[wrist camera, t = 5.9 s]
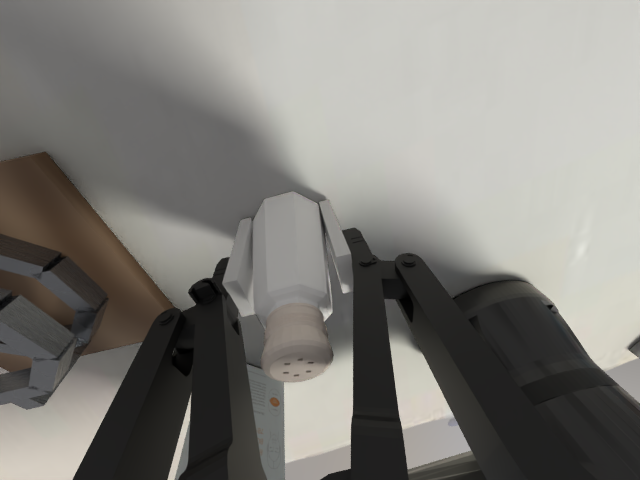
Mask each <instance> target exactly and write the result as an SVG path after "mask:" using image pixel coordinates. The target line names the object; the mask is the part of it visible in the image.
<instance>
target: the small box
mask: <svg viewBox="0 0 640 480" xmlns="http://www.w3.org/2000/svg"><path fill="white" fill-rule="evenodd" d="M247 371H248V377H249V384H250V391H251V398H252V404H253V411H254V418H255V424H256V431H257V438H258V444H259V451H260V458H261V463H262V467H263V470H264V472H265V474H266V477H267V480H285V448H284V382H282V381H277V380H274V379H272V378H270V377H269V376H267V375H266V374H265V372H264V371H263V370H262V369H260V368H257V367H254V366H251V365H249V364H247ZM189 432H190V422H189V426H188V430H187V433H186V437H185V441H184V445H183V449H182V453H181V457H180V461H179V465H178V469H177V472H176V476H175V480H178V479H179V477H180V475H181V474H182V473H183V472H184V471H185V470H186V467H187V464H188V451H189Z"/></svg>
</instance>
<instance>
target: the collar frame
mask: <svg viewBox="0 0 640 480" xmlns="http://www.w3.org/2000/svg"><path fill="white" fill-rule="evenodd" d="M61 253H62V252H59V251H56V250H52V249H49V248H46V247H43V246H39V245H36V244H33V243H29V242H26V241H23V240H20V239H16V238H13V237H10V236H7V235H3V234H0V269H1V270H5V271H9V272H13V273H16V274H20V275H24V276H28V277H32V278H35V279H36V280H38V281H39V282H40V283H41V284H42V285H44V286H45V287H46V288H47V289H49V290H50V291H51V292H52V293H54V294H55V295H56V296H57V297H58V298H60V299H61V300H62V301H63V302H65V303H66V304H67V305H68V306H69V307H71V308H72V309H73V310H74V311H76V312H75V316H74V320H73V324H69V325H65V326H62V325H61V324H60V323H58V322H57V321H56V320H54V319H53V318H52V317H50V316H49V315H48V314H46V313H45V312H43V311H42V310H41V309H39V308H38V307H37V306H35V305H34V304H33V303H31V302H30V301H29V300H27V299H26V298H25V297H23V296H22V295H17V296H12V291H11V290H6V289H2V288H0V352H1V353H7V354H14V355H20V356H27V357H29V358H31V359H33V361H32V367H31V368H27V369H23V370H18V371H14V372H10V373H5V374H1V375H0V405H3V404H7V403H13V404H15V405H18V406H20V407H22V408H24V409H32V408H36V407H40V406H44V405H45V403H46V402H47V401H48V399H49V398H50V397H51V395H52V394H53V393H54V391H55V390H56V388H57V387H58V386H59V384H60V383H61V382H62V380H63V379H64V377H65V376H66V375H67V373H68V372H69V371H70V369H71V368H72V367H73V365H74V364H75V362H76V361H77V360H78V358H79V357H80V356H81V354H82V353H83V351H84V350H85V349H86V347H87V346H88V345H89V343H90V342H91V338H92V337H93V335H94V334H95V333H96V331H97V330H98V329H99V327H100V324H101V321H102V318H103V315H104V312H105V309H106V306H107V303H108V301H109V298H107V295H108V294H107V293H106V292H105V291H104V290H103V289H102V288H101V287H100V286H99V285H98V284H96V283H95V282H94V281H93V280H92V279H91V278H90V277H89V276H88V275H87V274H86V273H85V272H84V271H83V270H82V269H81V268H80V267H79V266H78V265H77V264H76V263H75V262H74V261H73V260H72V259H71V258H70V257H69V256H65V257H61Z"/></svg>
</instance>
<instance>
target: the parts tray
mask: <svg viewBox="0 0 640 480" xmlns="http://www.w3.org/2000/svg"><path fill="white" fill-rule="evenodd" d="M629 351H631V352H632V353H633V354H635V355H636V356H637V357H639V358H640V341H639V342H638V343H636V344H635V345H634V346H633V347H632V348H631V349H630V350H629Z"/></svg>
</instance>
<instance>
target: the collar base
mask: <svg viewBox="0 0 640 480" xmlns="http://www.w3.org/2000/svg"><path fill="white" fill-rule="evenodd" d="M0 234H3V235H7V236H10V237H13V238H16V239H20V240H23V241H26V242H29V243H33V244H36V245H39V246H43V247H46V248H49V249H52V250H56V251H59V252H62V253H61V257H65V256H69V257H70V258H71V259H72V260H73V261H74V262H75V263H76V264H77V265H78V266H79V267H80V268H81V269H82V270H83V271H84V272H85V273H86V274H87V275H88V276H89V277H90V278H91V279H92V280H93V281H94V282H95V283H96V284H98V285H99V286H100V287H101V288H102V289H103V290H104V291H105V292H106V293H107V294H108V295H107V298H109V301H108V303H107V306H106V309H105V312H104V315H103V318H102V321H101V324H100V327H99V329H98V330H97V331H96V333H95V334H94V335H93V337H92V338H91V342H90V343H89V345H88V346H87V347H86V349H85V350H84V351H83V353H82V354H81V356H83V355H87V354H91V353H96V352H100V351H104V350H109V349H113V348H117V347H121V346H126V345H130V344H134V343H139V342H143V341H144V339H145V337H146V335H147V333H148V331H149V329H150V327H151V325H152V323H153V322H154V320H155V319H156V317H157V316H159V315H160V314H161V313H162V312H164V311H166V310H168V309H170V308H175V307H174V306H173V305H172V304H171V302H170V301H169V300H168V299H167V298H166V296H165V295H164V294H163V293H162V292H161V290H160V289H159V288H158V287H157V285H156V284H155V283H154V282H153V281H152V279H151V278H150V277H149V276H148V275H147V273H146V272H145V271H144V270H143V269H142V267H141V266H140V265H139V264H138V263H137V261H136V260H135V259H134V258H133V257H132V255H131V254H130V253H129V252H128V251H127V249H126V248H125V247H124V246H123V245H122V243H121V242H120V241H119V240H118V239H117V237H116V236H115V235H114V234H113V232H112V231H111V230H110V229H109V228H108V226H107V225H106V224H105V223H104V222H103V220H102V219H101V218H100V217H99V216H98V214H97V213H96V212H95V211H94V210H93V208H92V207H91V206H90V205H89V204H88V202H87V201H86V200H85V199H84V198H83V196H82V195H81V194H80V193H79V192H78V190H77V189H76V188H75V187H74V185H73V184H72V183H71V182H70V181H69V179H68V178H67V177H66V176H65V175H64V173H63V172H62V171H61V170H60V169H59V167H58V166H57V165H56V164H55V163H54V161H53V160H52V159H51V158H50V157H49V155H48V154H47V153H46V152H42V153H37V154H33V155H28V156H24V157H19V158H15V159H10V160H6V161H1V162H0ZM0 288H2V289H6V290H11V291H12V296H17V295H22V296H23V297H25V298H26V299H27V300H29V301H30V302H31V303H33V304H34V305H35V306H37V307H38V308H39V309H41V310H42V311H43V312H45V313H46V314H48V315H49V316H50V317H52V318H53V319H54V320H56V321H57V322H58V323H60V324H61V325H62V326H65V325H69V324H73V320H74V316H75V312H76V311H74V310H73V309H72V308H71V307H69V306H68V305H67V304H66V303H65V302H63V301H62V300H61V299H60V298H58V297H57V296H56V295H55V294H54V293H52V292H51V291H50V290H49V289H47V288H46V287H45V286H44V285H42V284H41V283H40V282H39V281H38V280H36V279H35V278H32V277H28V276H24V275H20V274H16V273H13V272H9V271H5V270H1V269H0ZM32 361H33V359H31V358H29V357H27V356H20V355H14V354H7V353H1V352H0V367H1V368H3V369H5V370H7V371H9V372H14V371H18V370H23V369H27V368H31V367H32Z"/></svg>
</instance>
